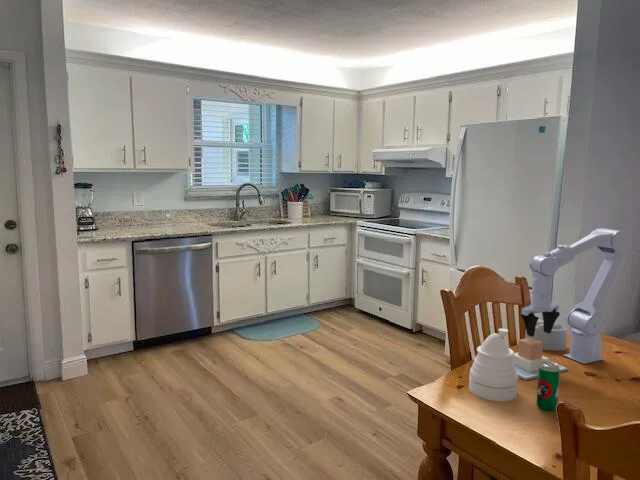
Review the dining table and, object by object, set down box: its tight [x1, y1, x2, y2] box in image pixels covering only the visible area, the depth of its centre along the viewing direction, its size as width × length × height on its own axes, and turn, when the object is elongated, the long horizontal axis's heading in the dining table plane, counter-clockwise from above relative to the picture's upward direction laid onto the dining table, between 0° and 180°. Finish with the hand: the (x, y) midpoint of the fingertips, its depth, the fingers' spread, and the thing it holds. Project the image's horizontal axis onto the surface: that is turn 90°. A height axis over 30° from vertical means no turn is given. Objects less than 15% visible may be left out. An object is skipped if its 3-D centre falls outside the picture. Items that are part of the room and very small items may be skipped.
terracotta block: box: [517, 338, 544, 360], centre depth 154 cm, size 5×5×5 cm
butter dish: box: [512, 351, 569, 381], centre depth 155 cm, size 18×14×4 cm
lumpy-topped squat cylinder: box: [524, 318, 568, 352], centre depth 175 cm, size 10×13×9 cm
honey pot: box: [468, 328, 519, 402], centre depth 137 cm, size 13×13×18 cm
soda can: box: [535, 361, 561, 413], centre depth 127 cm, size 5×5×12 cm
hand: (538, 334), depth 158 cm, fingers open, 7 cm apart
